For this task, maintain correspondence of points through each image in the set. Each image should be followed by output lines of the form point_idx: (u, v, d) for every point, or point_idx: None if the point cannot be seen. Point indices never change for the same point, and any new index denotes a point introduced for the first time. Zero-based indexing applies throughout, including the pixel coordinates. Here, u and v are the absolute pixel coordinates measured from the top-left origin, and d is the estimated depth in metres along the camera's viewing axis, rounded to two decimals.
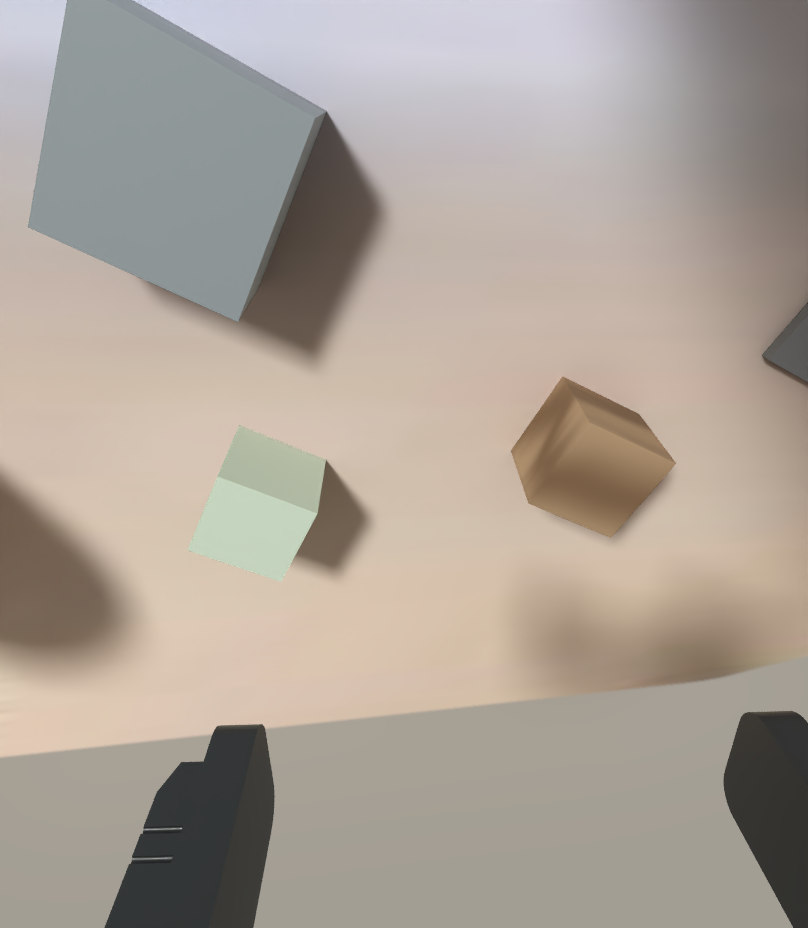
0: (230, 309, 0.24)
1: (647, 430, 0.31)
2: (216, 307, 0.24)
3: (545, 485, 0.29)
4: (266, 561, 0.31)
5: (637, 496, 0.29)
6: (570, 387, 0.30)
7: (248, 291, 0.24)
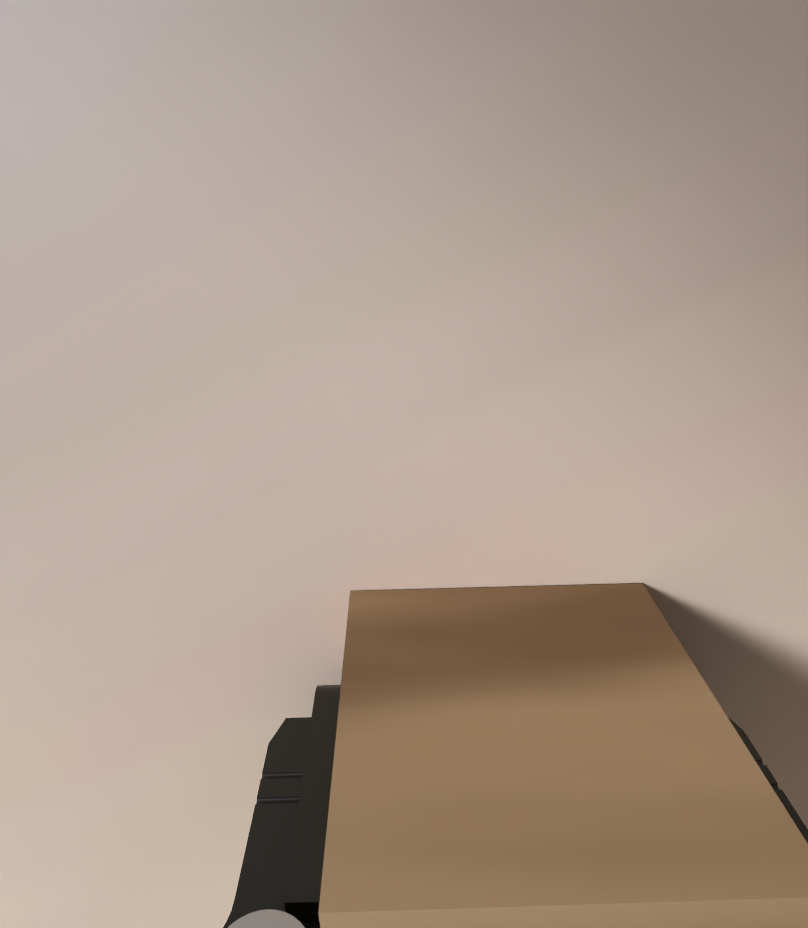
0: None
1: (674, 677, 0.08)
2: None
3: None
4: None
5: None
6: (353, 642, 0.09)
7: None
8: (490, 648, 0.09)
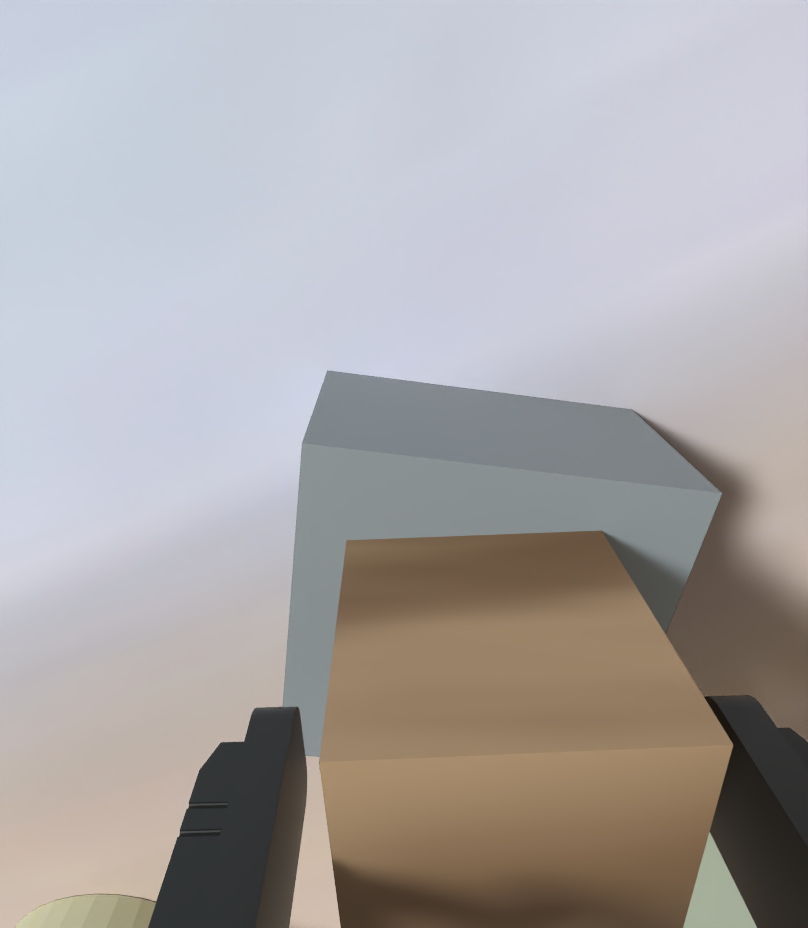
0: None
1: (619, 599, 0.10)
2: None
3: None
4: None
5: (666, 867, 0.08)
6: (348, 578, 0.11)
7: None
8: (465, 581, 0.10)
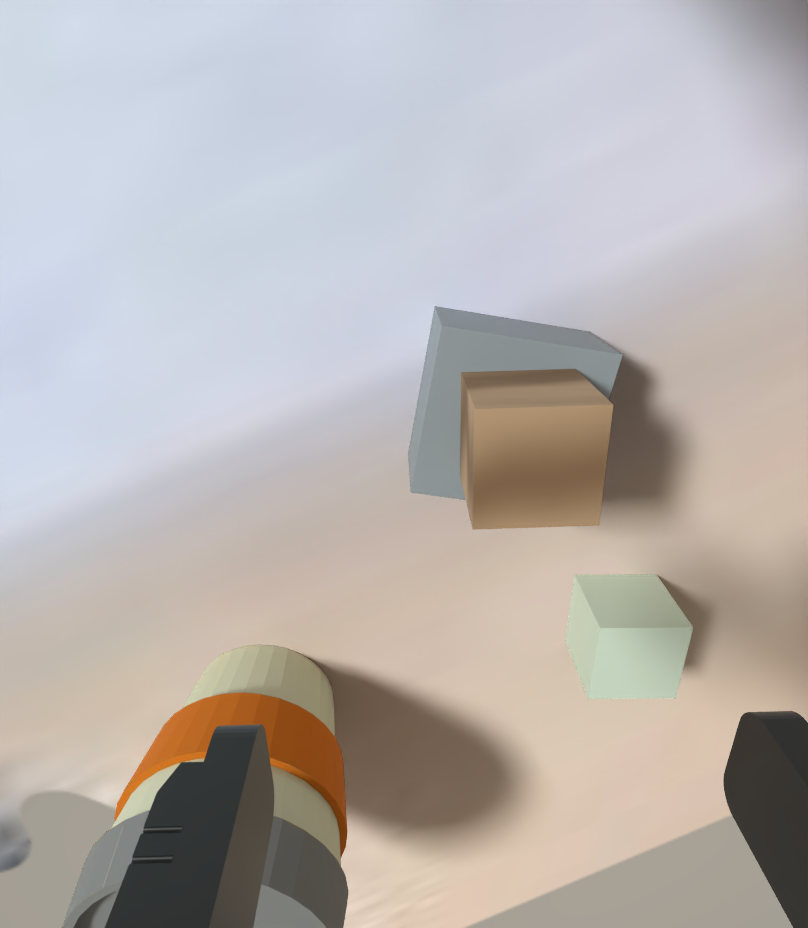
0: None
1: (580, 382, 0.24)
2: None
3: (476, 501, 0.23)
4: (658, 684, 0.34)
5: (594, 463, 0.23)
6: (467, 380, 0.25)
7: None
8: (516, 380, 0.25)
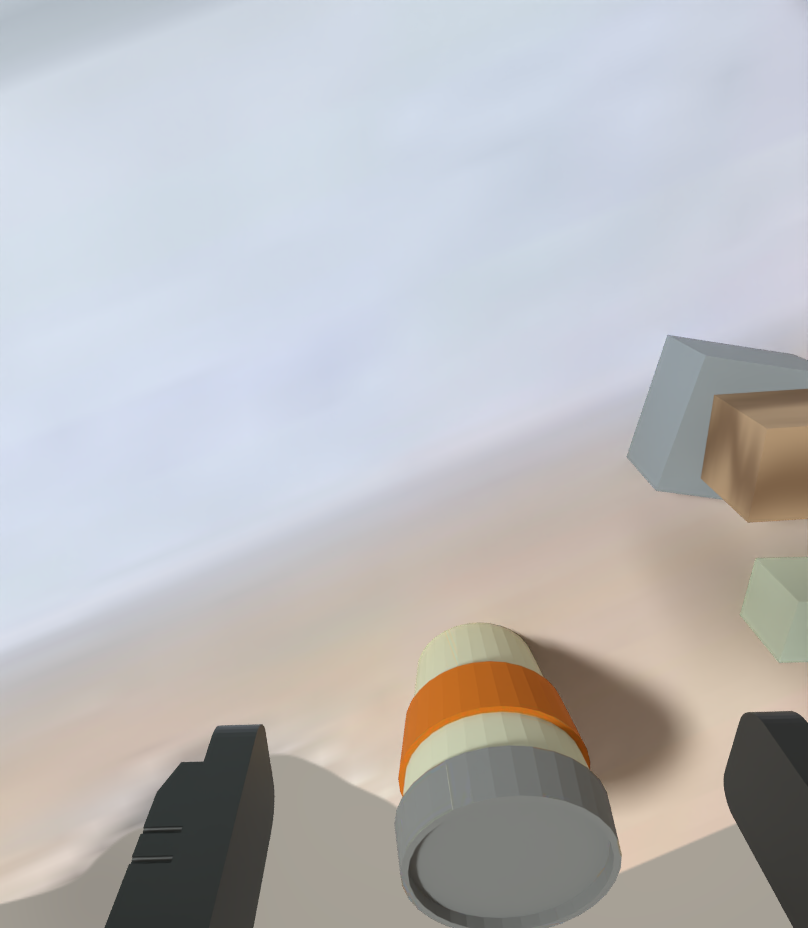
0: None
1: None
2: None
3: (755, 500, 0.29)
4: None
5: None
6: (728, 402, 0.31)
7: None
8: (770, 401, 0.31)
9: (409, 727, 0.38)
